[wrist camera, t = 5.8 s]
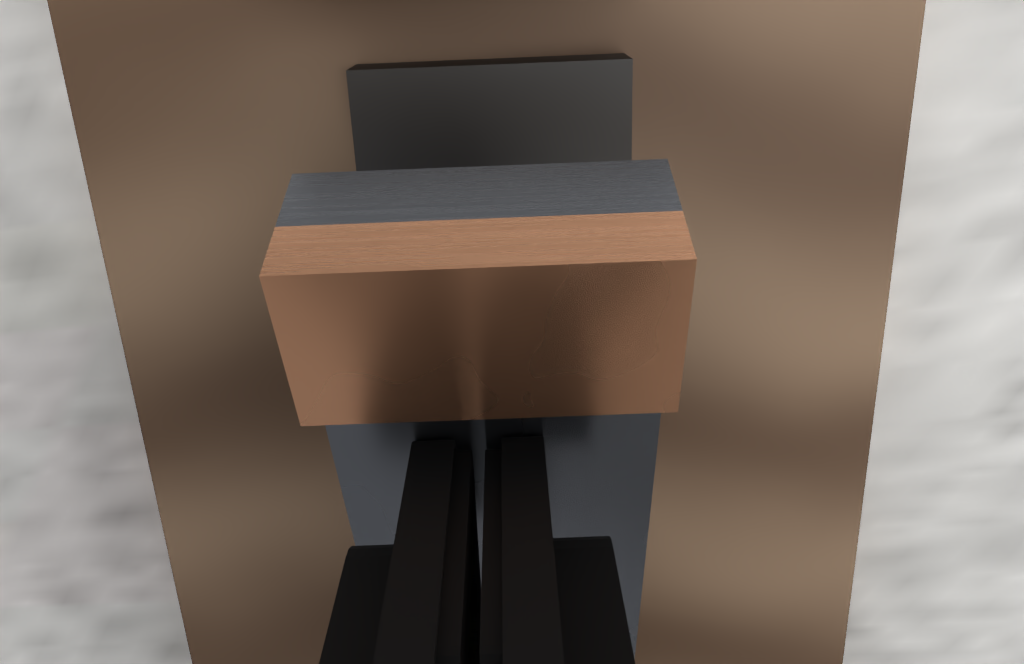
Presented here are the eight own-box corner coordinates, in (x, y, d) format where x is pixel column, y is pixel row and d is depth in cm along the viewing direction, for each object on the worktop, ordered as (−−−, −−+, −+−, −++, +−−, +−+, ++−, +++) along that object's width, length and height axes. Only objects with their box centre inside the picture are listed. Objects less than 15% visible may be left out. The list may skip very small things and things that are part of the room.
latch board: (804, 820, 26) (886, 1055, 20) (250, 838, 26) (180, 1076, 20) (940, -363, 15) (1192, -558, 10) (10, -321, 15) (-272, -488, 10)
